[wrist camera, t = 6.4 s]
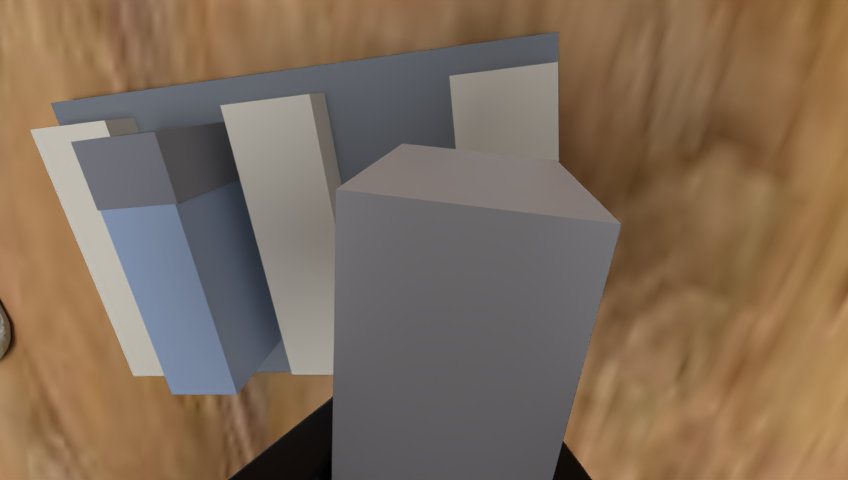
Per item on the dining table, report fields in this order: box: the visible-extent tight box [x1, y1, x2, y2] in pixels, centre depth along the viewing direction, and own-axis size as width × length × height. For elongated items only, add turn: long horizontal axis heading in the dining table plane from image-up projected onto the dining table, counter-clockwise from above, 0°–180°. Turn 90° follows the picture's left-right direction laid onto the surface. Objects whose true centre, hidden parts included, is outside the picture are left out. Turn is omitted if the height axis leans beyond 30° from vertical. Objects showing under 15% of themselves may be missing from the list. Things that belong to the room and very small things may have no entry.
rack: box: [30, 32, 559, 376], centre depth 18 cm, size 14×21×2 cm, turn 97°
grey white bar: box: [332, 144, 621, 480], centre depth 8 cm, size 10×3×4 cm, turn 175°
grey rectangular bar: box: [71, 122, 282, 394], centre depth 17 cm, size 10×3×4 cm, turn 7°
